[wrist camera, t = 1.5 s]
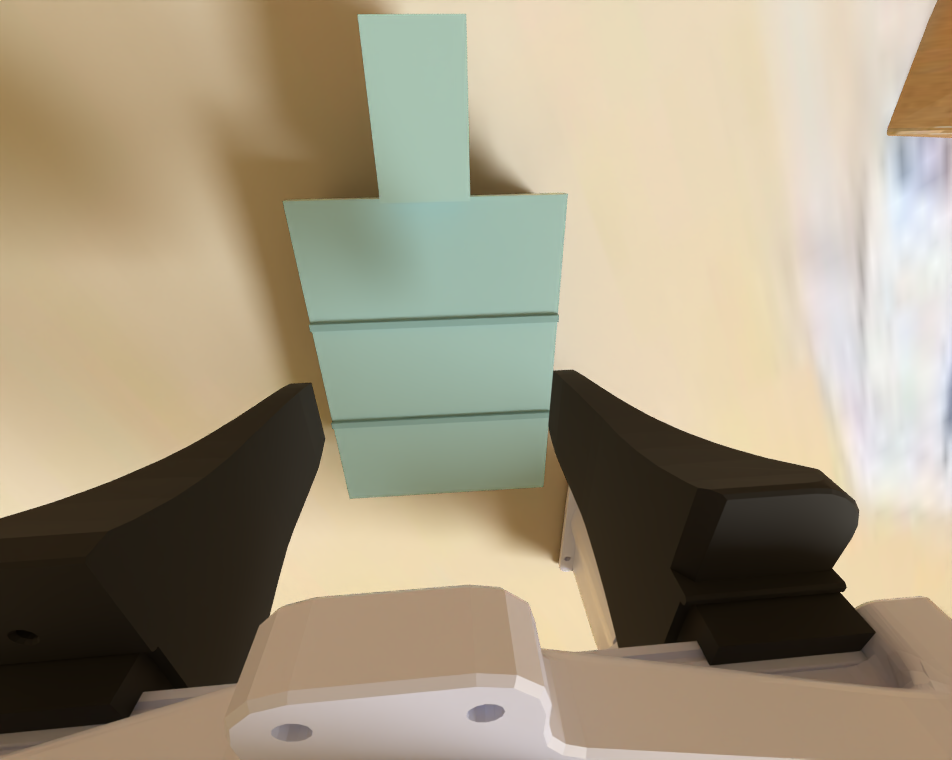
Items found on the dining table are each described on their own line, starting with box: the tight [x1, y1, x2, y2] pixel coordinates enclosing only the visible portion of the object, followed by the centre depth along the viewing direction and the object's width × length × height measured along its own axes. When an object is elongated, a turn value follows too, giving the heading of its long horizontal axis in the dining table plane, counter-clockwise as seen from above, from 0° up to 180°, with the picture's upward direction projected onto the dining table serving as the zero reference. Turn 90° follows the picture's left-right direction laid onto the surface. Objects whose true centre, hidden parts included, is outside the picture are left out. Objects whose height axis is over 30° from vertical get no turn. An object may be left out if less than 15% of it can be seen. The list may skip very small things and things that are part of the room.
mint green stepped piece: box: [283, 14, 568, 499], centre depth 17 cm, size 20×11×3 cm, turn 1°
